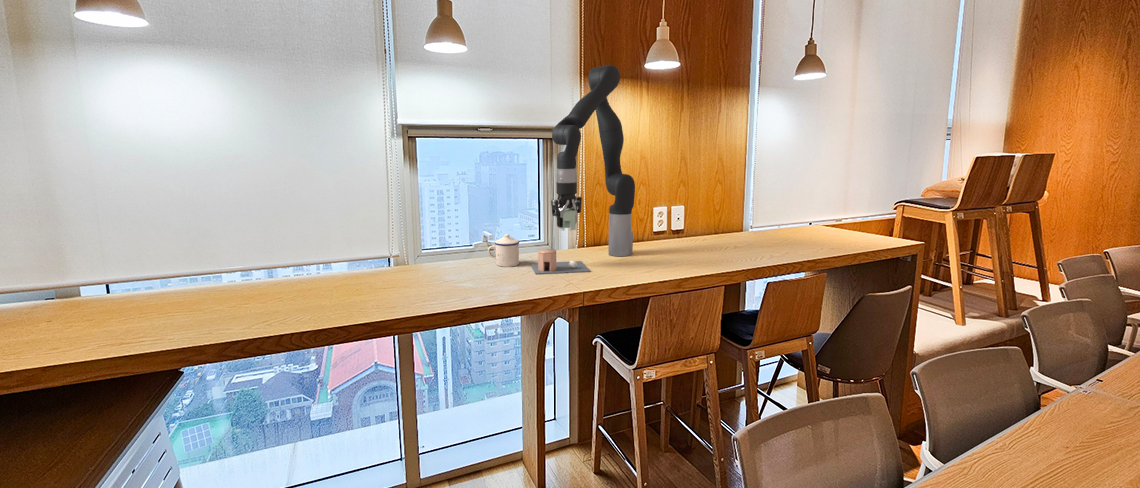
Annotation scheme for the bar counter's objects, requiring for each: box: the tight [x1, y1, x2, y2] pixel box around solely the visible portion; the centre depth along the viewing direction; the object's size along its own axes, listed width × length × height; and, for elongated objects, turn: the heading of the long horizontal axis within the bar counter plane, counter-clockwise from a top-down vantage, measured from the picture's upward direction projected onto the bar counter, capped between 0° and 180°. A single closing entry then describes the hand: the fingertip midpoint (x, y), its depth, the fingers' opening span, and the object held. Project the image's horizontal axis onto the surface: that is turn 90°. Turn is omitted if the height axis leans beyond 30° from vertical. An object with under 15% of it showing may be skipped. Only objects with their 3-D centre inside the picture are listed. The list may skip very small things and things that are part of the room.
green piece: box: [557, 209, 577, 231], centre depth 203 cm, size 6×6×7 cm
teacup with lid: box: [487, 233, 520, 268], centre depth 208 cm, size 12×9×12 cm
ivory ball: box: [568, 259, 577, 268], centre depth 201 cm, size 3×3×3 cm
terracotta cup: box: [537, 248, 557, 272], centre depth 199 cm, size 6×6×7 cm
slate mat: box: [529, 260, 592, 275], centre depth 204 cm, size 20×16×1 cm
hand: (566, 226), depth 203 cm, fingers closed on green piece, 6 cm apart
